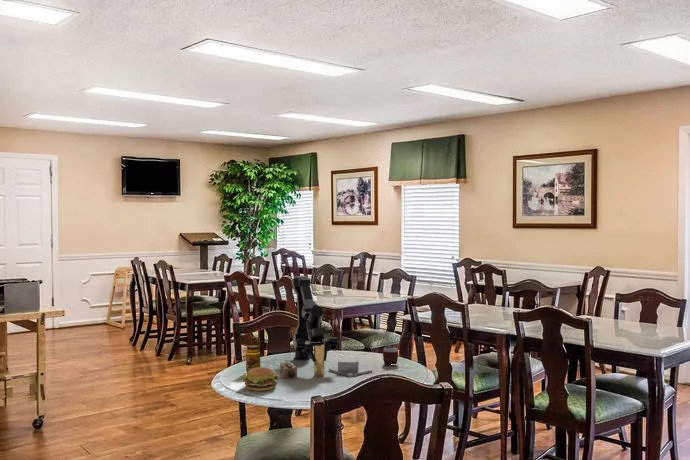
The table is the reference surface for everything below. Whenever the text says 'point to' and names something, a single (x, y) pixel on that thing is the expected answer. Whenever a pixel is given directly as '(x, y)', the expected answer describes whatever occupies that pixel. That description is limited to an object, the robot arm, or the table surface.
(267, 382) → the food
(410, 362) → the table surface
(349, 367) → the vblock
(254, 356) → the condiment
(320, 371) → the tan cylinder
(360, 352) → the table surface
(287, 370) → the beam
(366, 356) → the table surface
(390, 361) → the mate gourd
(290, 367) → the drift
